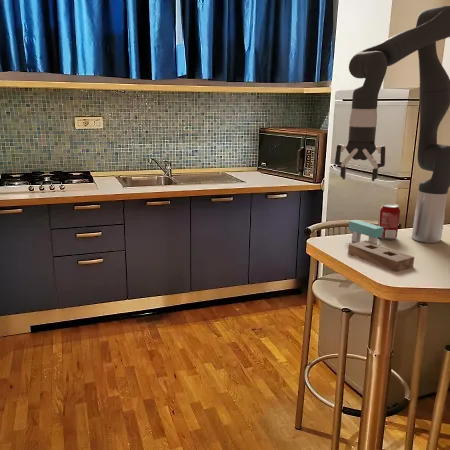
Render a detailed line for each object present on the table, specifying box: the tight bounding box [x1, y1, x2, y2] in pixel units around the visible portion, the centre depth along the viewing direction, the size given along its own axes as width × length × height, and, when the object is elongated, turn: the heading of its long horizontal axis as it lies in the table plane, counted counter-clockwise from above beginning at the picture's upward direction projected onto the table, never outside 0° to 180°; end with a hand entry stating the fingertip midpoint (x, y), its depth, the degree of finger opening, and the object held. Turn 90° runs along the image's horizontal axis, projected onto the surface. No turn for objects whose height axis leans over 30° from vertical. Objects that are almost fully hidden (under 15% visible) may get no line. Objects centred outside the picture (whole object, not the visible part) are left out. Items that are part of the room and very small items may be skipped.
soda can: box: [377, 202, 401, 241], centre depth 158 cm, size 7×7×12 cm
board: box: [347, 240, 415, 272], centre depth 137 cm, size 8×18×3 cm, turn 32°
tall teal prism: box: [348, 219, 383, 244], centre depth 151 cm, size 4×11×7 cm, turn 33°
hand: (358, 179), depth 136 cm, fingers open, 8 cm apart
